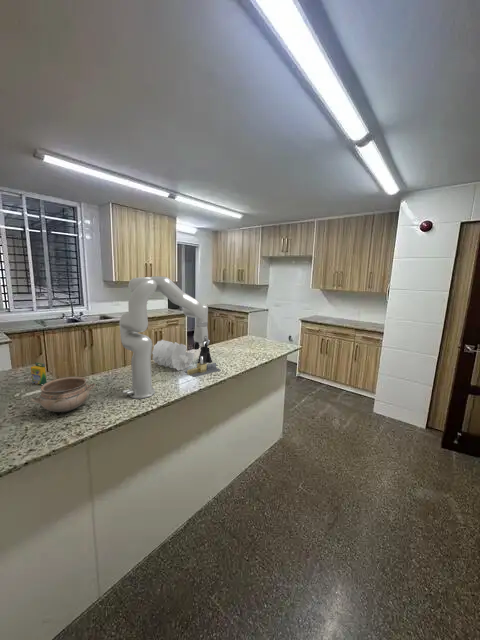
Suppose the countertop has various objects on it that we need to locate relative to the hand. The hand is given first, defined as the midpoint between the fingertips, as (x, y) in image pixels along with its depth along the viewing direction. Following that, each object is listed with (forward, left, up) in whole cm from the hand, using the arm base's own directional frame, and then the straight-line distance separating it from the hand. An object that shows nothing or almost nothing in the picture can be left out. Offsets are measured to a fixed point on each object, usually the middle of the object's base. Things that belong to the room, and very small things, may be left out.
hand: (200, 351), depth 172 cm
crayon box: (-81, +38, -14) cm, 91 cm away
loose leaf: (-3, 0, -14) cm, 14 cm away
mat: (+2, 0, -14) cm, 14 cm away
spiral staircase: (-10, +19, -14) cm, 26 cm away
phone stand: (+12, +13, -14) cm, 23 cm away
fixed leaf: (+6, 0, -14) cm, 15 cm away
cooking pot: (-74, -4, -14) cm, 76 cm away
